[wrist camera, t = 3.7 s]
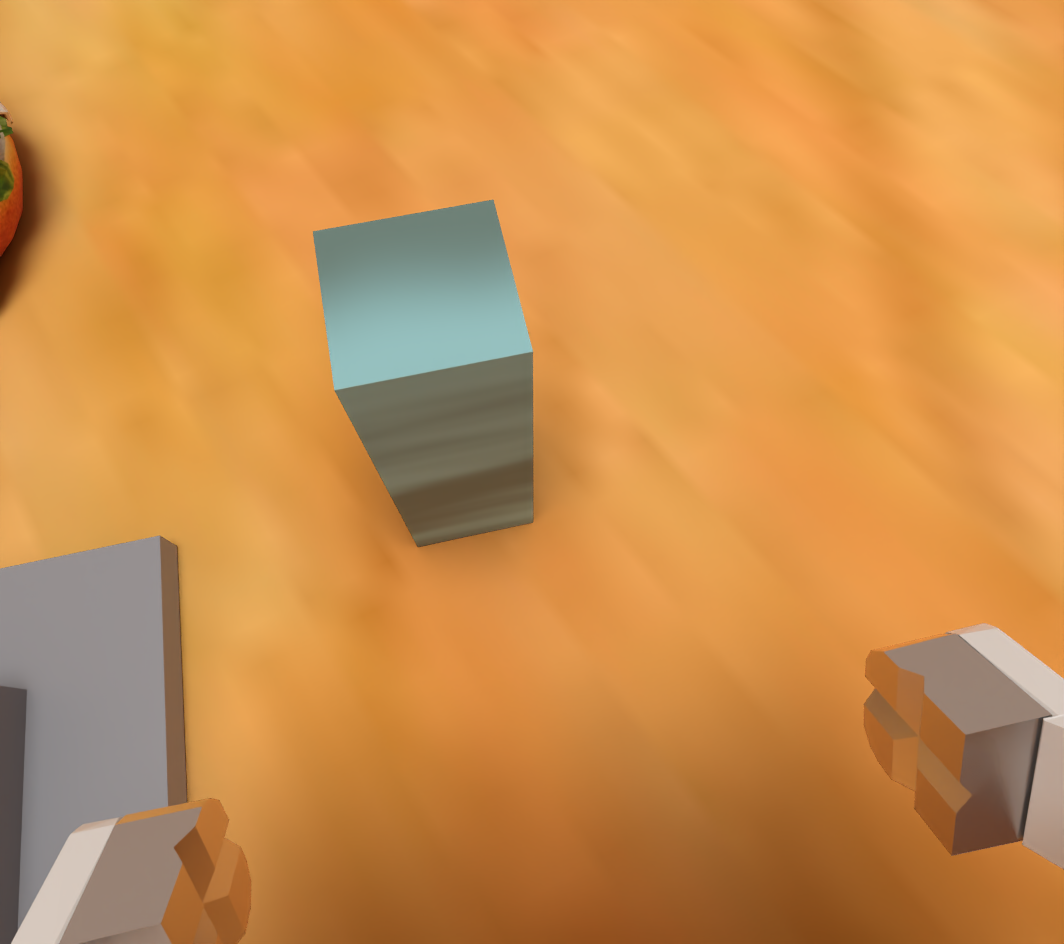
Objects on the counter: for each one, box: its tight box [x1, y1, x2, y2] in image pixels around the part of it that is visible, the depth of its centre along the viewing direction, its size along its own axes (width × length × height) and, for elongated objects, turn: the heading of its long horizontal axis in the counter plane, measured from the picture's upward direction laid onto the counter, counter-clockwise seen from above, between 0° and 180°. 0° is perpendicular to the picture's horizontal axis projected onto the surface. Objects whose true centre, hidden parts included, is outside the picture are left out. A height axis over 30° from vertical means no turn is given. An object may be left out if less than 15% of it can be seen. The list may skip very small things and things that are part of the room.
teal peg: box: [313, 200, 533, 547], centre depth 20 cm, size 4×4×11 cm
